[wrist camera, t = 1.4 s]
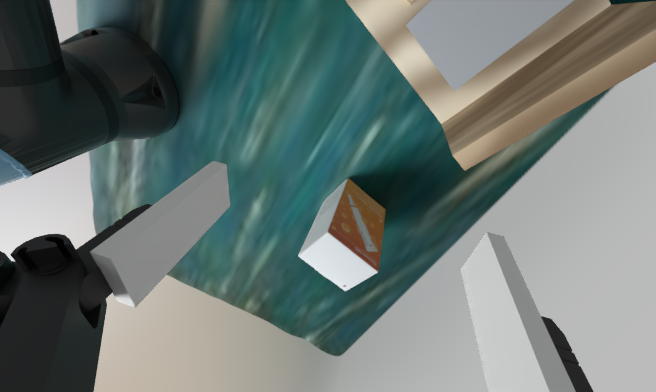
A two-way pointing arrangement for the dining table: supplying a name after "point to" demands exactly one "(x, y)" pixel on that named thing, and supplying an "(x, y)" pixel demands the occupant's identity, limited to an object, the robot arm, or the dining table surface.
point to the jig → (520, 69)
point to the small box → (346, 237)
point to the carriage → (476, 31)
